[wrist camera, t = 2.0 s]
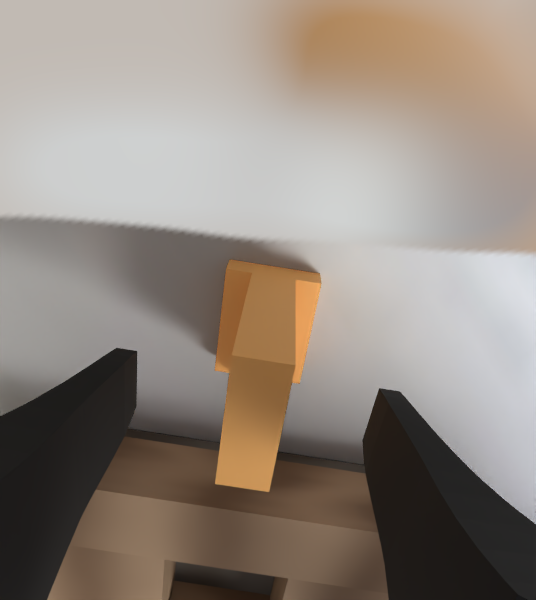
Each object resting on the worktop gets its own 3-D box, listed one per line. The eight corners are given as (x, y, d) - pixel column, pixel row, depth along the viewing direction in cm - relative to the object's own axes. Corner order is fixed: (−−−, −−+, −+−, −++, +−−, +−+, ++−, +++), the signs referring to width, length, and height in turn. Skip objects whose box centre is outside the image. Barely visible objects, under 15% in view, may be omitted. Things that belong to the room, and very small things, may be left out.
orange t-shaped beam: (229, 259, 16) (193, 349, 11) (319, 273, 16) (333, 371, 11) (218, 356, 18) (182, 479, 13) (299, 369, 18) (301, 497, 13)
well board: (432, 475, 20) (456, 544, 17) (361, 638, 27) (370, 711, 23) (57, 417, 20) (13, 477, 17) (72, 594, 26) (42, 662, 23)
